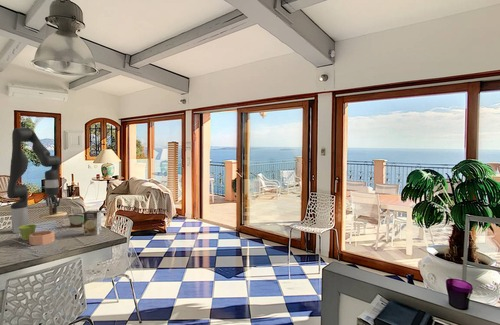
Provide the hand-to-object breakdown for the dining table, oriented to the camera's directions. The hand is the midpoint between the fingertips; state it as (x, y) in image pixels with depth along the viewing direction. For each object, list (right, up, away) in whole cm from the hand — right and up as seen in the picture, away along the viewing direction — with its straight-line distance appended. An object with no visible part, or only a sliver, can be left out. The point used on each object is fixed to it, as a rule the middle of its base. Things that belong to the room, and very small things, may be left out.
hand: (53, 212), depth 191 cm
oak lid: (0, -2, 0) cm, 2 cm away
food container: (-1, -16, +31) cm, 35 cm away
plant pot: (-17, -18, +1) cm, 24 cm away
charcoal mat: (+2, -17, +9) cm, 19 cm away
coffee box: (+20, -17, +10) cm, 28 cm away
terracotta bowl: (-2, -18, -7) cm, 19 cm away
